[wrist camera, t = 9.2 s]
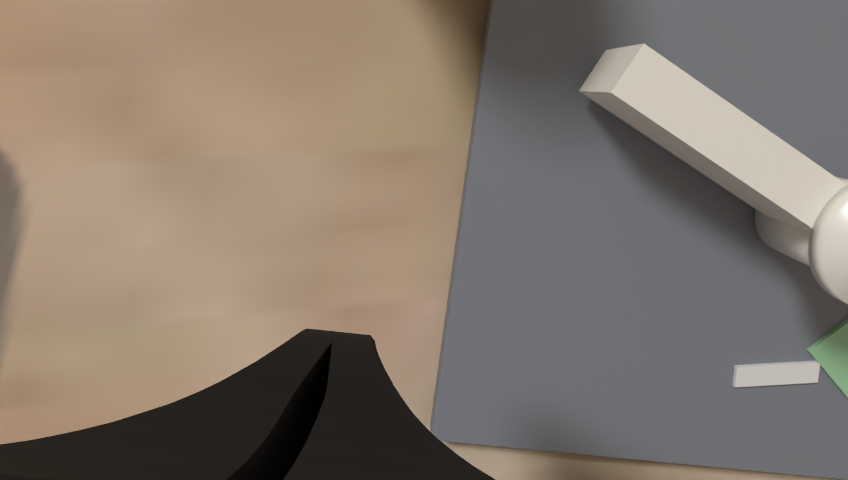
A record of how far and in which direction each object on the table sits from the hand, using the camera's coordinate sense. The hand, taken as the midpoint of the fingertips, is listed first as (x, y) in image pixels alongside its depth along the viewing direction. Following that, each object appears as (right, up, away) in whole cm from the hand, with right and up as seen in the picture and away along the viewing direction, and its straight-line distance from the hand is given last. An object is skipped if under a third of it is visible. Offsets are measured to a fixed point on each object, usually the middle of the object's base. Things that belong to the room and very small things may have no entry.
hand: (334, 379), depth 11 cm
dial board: (+14, +3, +10) cm, 17 cm away
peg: (+13, +4, +8) cm, 16 cm away
